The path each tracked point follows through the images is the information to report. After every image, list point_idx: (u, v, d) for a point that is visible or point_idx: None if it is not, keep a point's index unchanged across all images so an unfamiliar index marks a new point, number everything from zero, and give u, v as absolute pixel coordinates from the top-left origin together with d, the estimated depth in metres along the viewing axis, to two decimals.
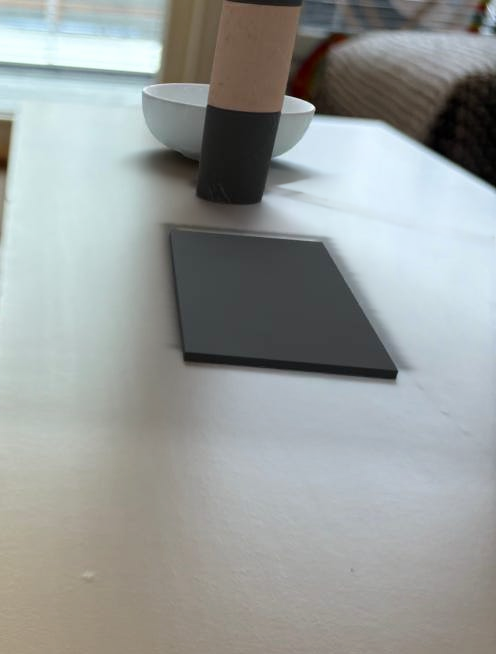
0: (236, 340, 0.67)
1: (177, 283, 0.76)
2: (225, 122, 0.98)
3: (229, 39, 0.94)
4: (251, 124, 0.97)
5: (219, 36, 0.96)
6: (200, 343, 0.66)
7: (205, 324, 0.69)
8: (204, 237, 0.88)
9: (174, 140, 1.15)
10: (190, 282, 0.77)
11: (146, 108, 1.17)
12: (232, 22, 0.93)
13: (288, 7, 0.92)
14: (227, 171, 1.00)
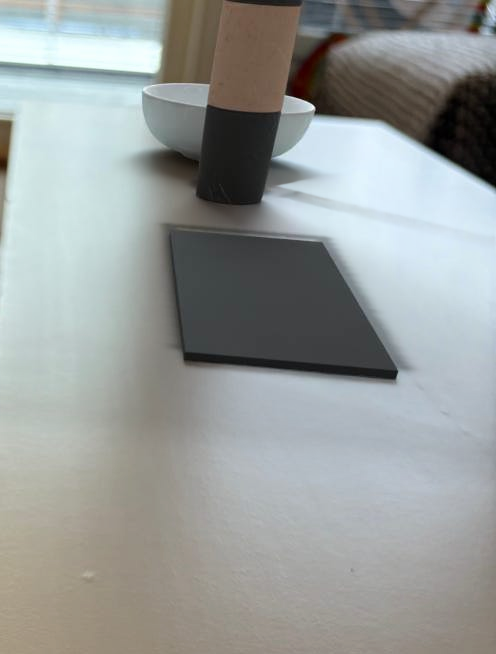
0: (236, 340, 0.67)
1: (177, 283, 0.76)
2: (225, 122, 0.98)
3: (229, 39, 0.94)
4: (251, 124, 0.97)
5: (219, 36, 0.96)
6: (200, 343, 0.66)
7: (205, 324, 0.69)
8: (204, 237, 0.88)
9: (174, 140, 1.15)
10: (190, 282, 0.77)
11: (146, 108, 1.17)
12: (232, 21, 0.93)
13: (288, 7, 0.92)
14: (227, 171, 1.00)
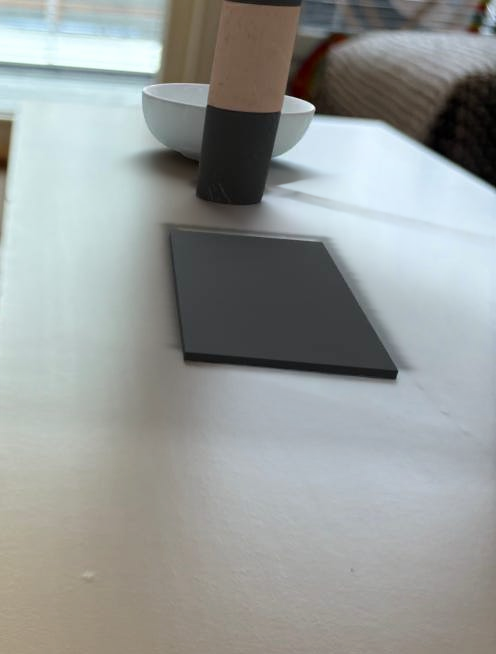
0: (236, 340, 0.67)
1: (177, 283, 0.76)
2: (225, 122, 0.98)
3: (229, 39, 0.94)
4: (251, 124, 0.97)
5: (219, 36, 0.96)
6: (200, 343, 0.66)
7: (205, 324, 0.69)
8: (204, 237, 0.88)
9: (174, 140, 1.15)
10: (190, 282, 0.77)
11: (146, 108, 1.17)
12: (232, 22, 0.93)
13: (288, 7, 0.92)
14: (227, 171, 1.00)
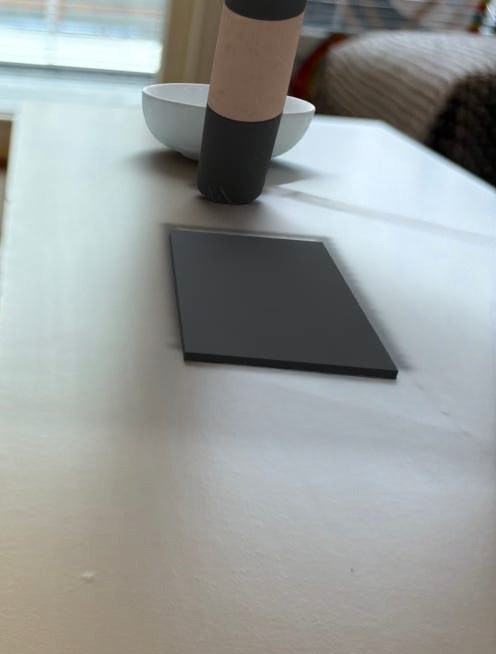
0: (236, 340, 0.67)
1: (177, 283, 0.76)
2: (225, 130, 0.96)
3: (230, 50, 0.91)
4: (252, 133, 0.96)
5: (219, 40, 0.92)
6: (200, 343, 0.66)
7: (205, 324, 0.69)
8: (204, 237, 0.88)
9: (174, 140, 1.15)
10: (190, 282, 0.77)
11: (146, 108, 1.17)
12: (233, 33, 0.90)
13: (291, 19, 0.88)
14: (228, 175, 1.00)
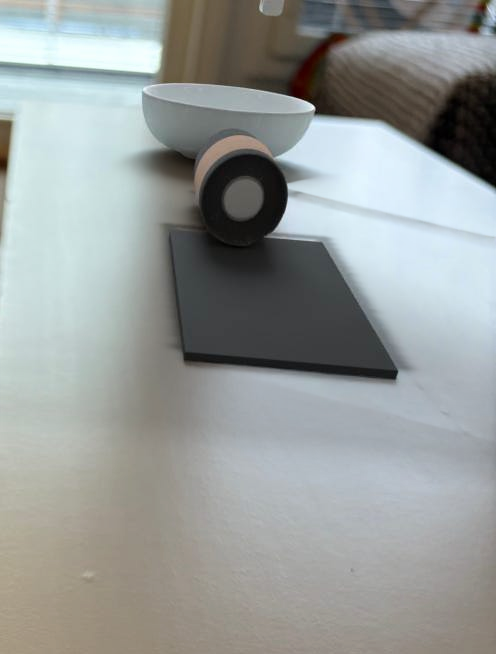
0: (236, 340, 0.67)
1: (177, 283, 0.76)
2: None
3: None
4: None
5: None
6: (200, 343, 0.66)
7: (205, 324, 0.69)
8: (204, 237, 0.88)
9: (174, 140, 1.15)
10: (190, 282, 0.77)
11: (146, 108, 1.17)
12: None
13: None
14: None
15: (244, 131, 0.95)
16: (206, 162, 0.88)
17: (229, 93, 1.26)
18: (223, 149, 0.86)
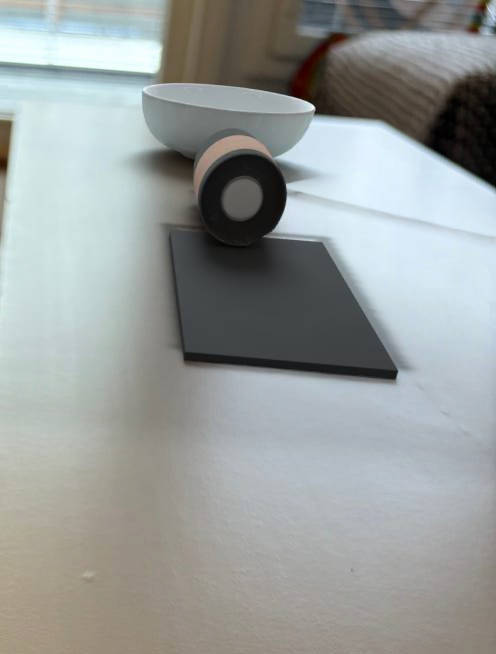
0: (236, 340, 0.67)
1: (177, 283, 0.76)
2: None
3: None
4: None
5: None
6: (200, 343, 0.66)
7: (205, 324, 0.69)
8: (204, 237, 0.88)
9: (174, 140, 1.15)
10: (190, 282, 0.77)
11: (146, 108, 1.17)
12: None
13: None
14: None
15: (242, 131, 0.95)
16: (204, 163, 0.88)
17: (229, 93, 1.26)
18: (221, 150, 0.86)
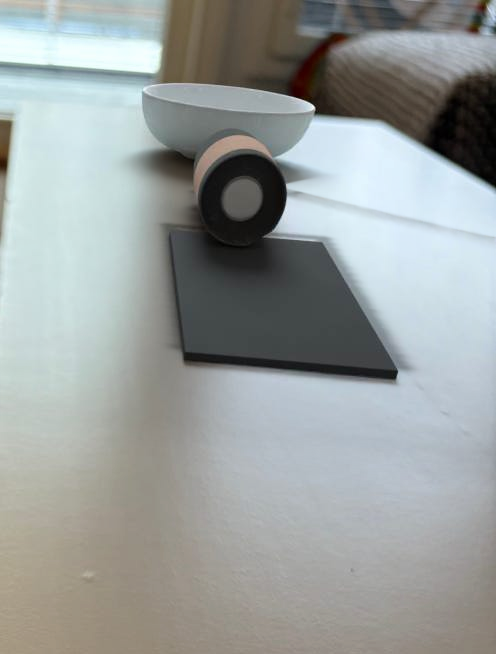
0: (236, 340, 0.67)
1: (177, 283, 0.76)
2: None
3: None
4: None
5: None
6: (200, 343, 0.66)
7: (205, 324, 0.69)
8: (204, 237, 0.88)
9: (174, 140, 1.15)
10: (190, 282, 0.77)
11: (146, 108, 1.17)
12: None
13: None
14: None
15: (242, 131, 0.95)
16: (204, 163, 0.88)
17: (229, 93, 1.26)
18: (221, 150, 0.86)
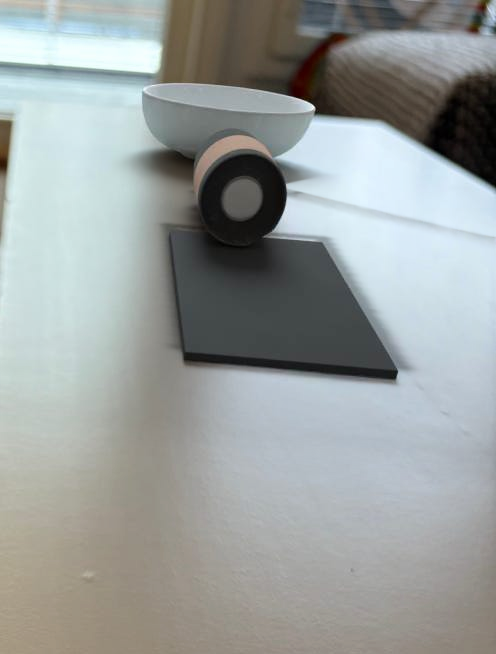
0: (236, 340, 0.67)
1: (177, 283, 0.76)
2: None
3: None
4: None
5: None
6: (200, 343, 0.66)
7: (205, 324, 0.69)
8: (204, 237, 0.88)
9: (174, 140, 1.15)
10: (190, 282, 0.77)
11: (146, 108, 1.17)
12: None
13: None
14: None
15: (242, 131, 0.95)
16: (204, 163, 0.88)
17: (229, 93, 1.26)
18: (221, 150, 0.86)
